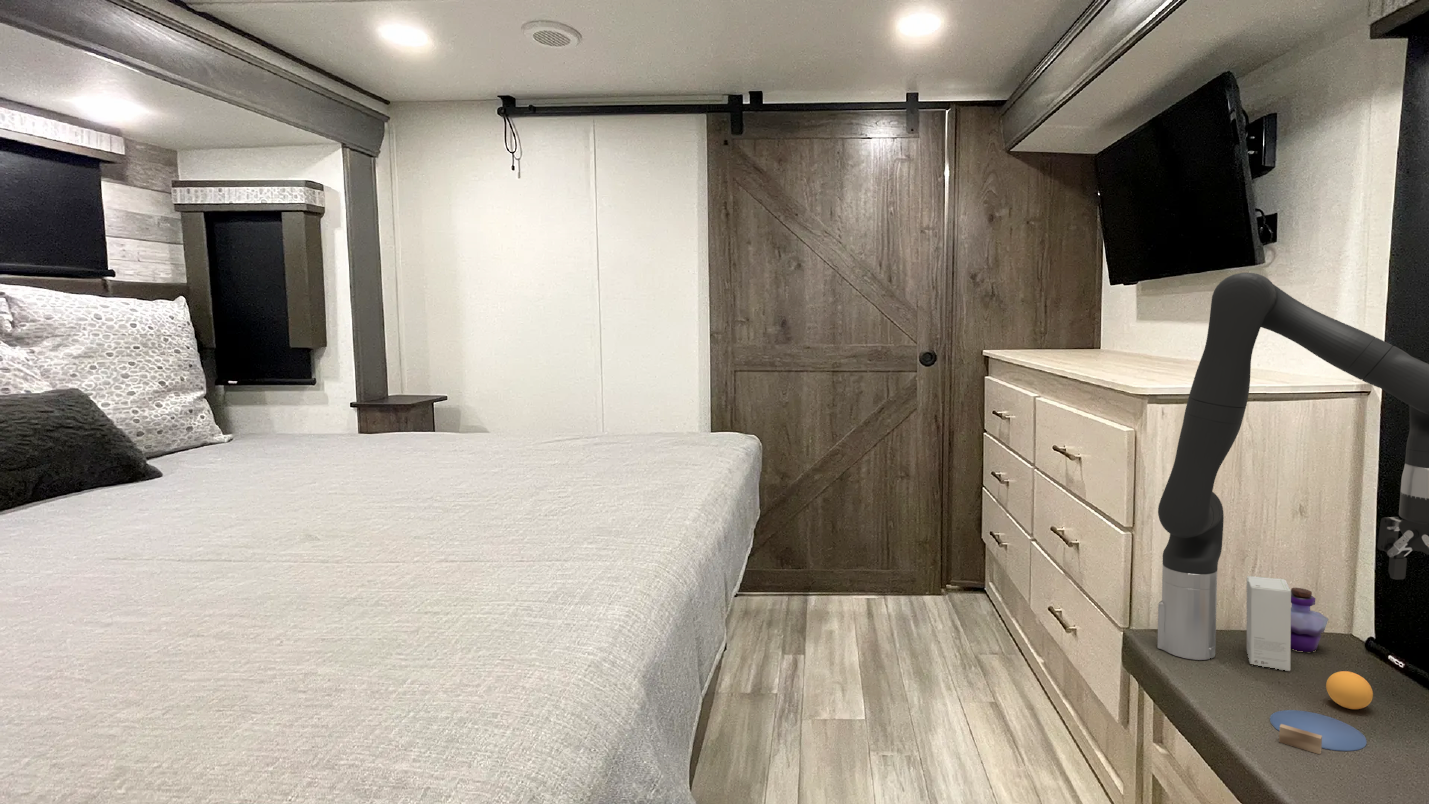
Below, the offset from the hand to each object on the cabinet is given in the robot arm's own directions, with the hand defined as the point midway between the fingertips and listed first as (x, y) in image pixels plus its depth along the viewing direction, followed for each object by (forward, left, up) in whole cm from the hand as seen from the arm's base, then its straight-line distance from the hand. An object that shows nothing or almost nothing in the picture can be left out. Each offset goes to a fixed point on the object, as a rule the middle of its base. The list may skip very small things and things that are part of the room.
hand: (1423, 587), depth 123 cm
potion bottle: (-18, +14, -21) cm, 31 cm away
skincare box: (-21, +3, -21) cm, 30 cm away
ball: (-8, -9, -17) cm, 21 cm away
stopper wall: (-11, -29, -20) cm, 37 cm away
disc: (-10, -22, -20) cm, 31 cm away
